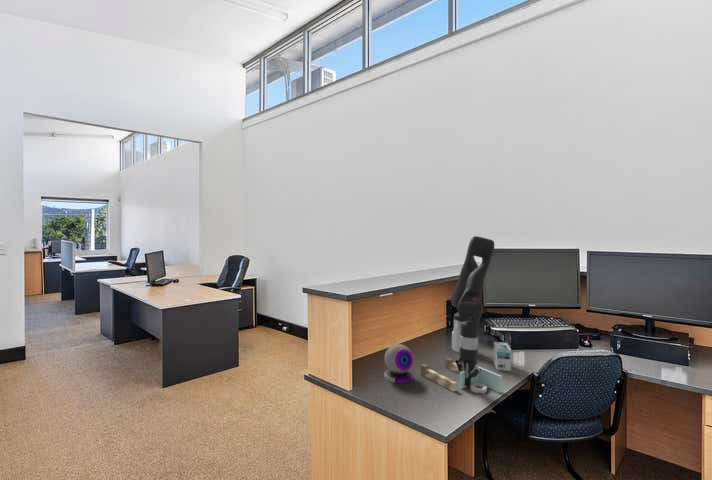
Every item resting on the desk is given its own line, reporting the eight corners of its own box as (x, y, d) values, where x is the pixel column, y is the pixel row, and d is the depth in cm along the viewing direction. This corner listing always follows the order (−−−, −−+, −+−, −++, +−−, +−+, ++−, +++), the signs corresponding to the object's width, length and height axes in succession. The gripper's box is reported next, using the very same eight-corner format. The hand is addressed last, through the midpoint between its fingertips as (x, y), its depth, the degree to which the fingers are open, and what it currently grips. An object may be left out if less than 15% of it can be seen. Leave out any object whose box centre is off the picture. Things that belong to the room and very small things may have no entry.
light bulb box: (511, 371, 178) (512, 349, 178) (496, 370, 180) (497, 348, 179) (506, 363, 189) (507, 342, 188) (492, 362, 190) (493, 341, 189)
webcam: (392, 385, 162) (393, 351, 161) (379, 373, 174) (379, 342, 173) (418, 380, 167) (418, 347, 166) (403, 369, 179) (404, 339, 178)
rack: (420, 374, 174) (420, 364, 173) (449, 366, 183) (449, 357, 183) (452, 391, 157) (452, 381, 156) (482, 382, 166) (482, 372, 166)
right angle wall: (459, 389, 160) (460, 372, 160) (477, 382, 167) (478, 366, 166) (482, 400, 150) (483, 382, 150) (501, 393, 157) (501, 375, 156)
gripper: (450, 342, 164) (449, 381, 165) (474, 352, 152) (473, 393, 153) (463, 340, 168) (461, 377, 169) (487, 349, 156) (485, 389, 157)
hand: (467, 385), depth 161 cm, fingers closed
